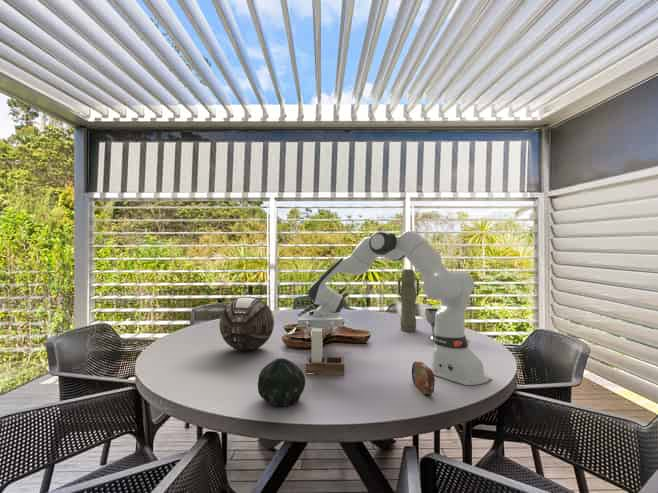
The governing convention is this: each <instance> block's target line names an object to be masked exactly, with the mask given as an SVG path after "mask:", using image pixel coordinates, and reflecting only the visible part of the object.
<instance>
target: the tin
mask: <svg viewBox="0 0 658 493" xmlns="http://www.w3.org/2000/svg"><path fill="white" fill-rule="evenodd" d="M411 378H412V380H411V381H412V384H413V385H414V387H416V388H417V389H418V390H419V391H420V393H421V394H423V395H431V394H433V393H434V391H435V382H436V378H435V375H434V373H433V371H432V370H431V367H429V366H428V365H427V364H425V363H424V362H422V361H414V362H413V363H412V367H411Z"/></svg>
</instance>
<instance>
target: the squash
mask: <svg viewBox="0 0 658 493" xmlns="http://www.w3.org/2000/svg"><path fill="white" fill-rule="evenodd" d="M259 372H260V373H259V375H258V381H257V391H258V394H259V396H260V397H261V398H262V399H263V401H265V402H267V403H270V404H271V406H272V407H275V406H276V407H278V406H280V405H281V406H282V407H285V406H287V405H289V404H294V402H295V403H297V402H298V401H299V399H300V397H301V395H302V394H303V392H304V391H305V387H306V377H305V375H304V372H303V371H302V369H301V368H300V367H299V365H297V364H296V363H294V362H292V361H290V360H288V359H286V358H282V357H279V358H276V359H274V360H272V361H271V362H269V363H267V364H266V365H265V366H264V367H262V369H261V371H259ZM289 402H290V403H289Z"/></svg>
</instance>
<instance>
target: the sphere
mask: <svg viewBox="0 0 658 493" xmlns="http://www.w3.org/2000/svg"><path fill="white" fill-rule="evenodd" d="M274 319H275V318H274V315H273V312H272V309H271V308H270V306H269V305H268V304H267V303H266V302H264V301H263V300H262V299H260V298H257V297H255V296H241V297H238V298H236V299H234V300H231V302H230V303H228V305H227V306H225V307H224V309H223V311H222V313H221V315H220V318H219V332H220V335H221V338H222V339H223V341H225V343H226V344H227V345H228V346H229V347H231V348H233V349H235V350H237V351H243V352H248V351H254V350H256V349H258V348H259V349H260V347H262V346H264V344H265V345H266V343H267V342H268V341H269V339H270V338H271V336H272V334H273V332H274V328H275V327H274V326H275V320H274Z"/></svg>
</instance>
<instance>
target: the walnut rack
mask: <svg viewBox="0 0 658 493" xmlns="http://www.w3.org/2000/svg"><path fill="white" fill-rule="evenodd" d="M306 373H314V374H313V375H323V374H344V375H345V357H344V356H322V363H312V356H307V358H306V361H305V374H306Z"/></svg>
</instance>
